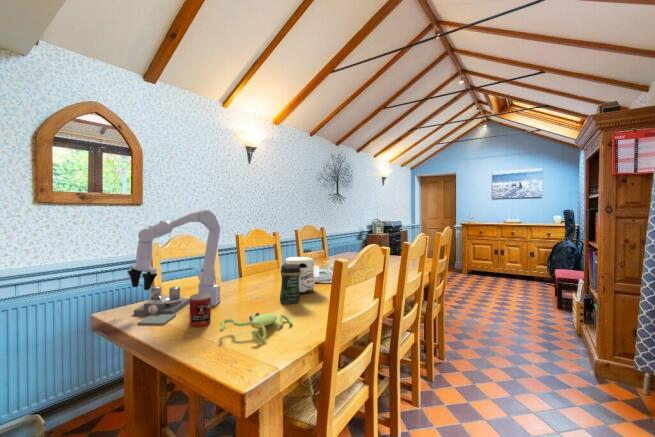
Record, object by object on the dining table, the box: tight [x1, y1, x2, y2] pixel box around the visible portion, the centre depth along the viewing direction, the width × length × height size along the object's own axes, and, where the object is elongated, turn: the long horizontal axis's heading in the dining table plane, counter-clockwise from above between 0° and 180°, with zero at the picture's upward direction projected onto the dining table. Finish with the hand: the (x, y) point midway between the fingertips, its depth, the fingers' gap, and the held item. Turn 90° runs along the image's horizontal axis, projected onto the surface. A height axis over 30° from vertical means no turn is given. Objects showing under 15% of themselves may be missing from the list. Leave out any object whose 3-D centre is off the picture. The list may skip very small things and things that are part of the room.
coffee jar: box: [279, 263, 301, 305], centre depth 153 cm, size 10×8×19 cm
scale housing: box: [133, 297, 190, 316], centre depth 140 cm, size 16×18×5 cm
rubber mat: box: [137, 313, 177, 326], centre depth 125 cm, size 10×10×1 cm
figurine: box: [219, 312, 293, 345], centre depth 117 cm, size 18×27×6 cm
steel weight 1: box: [149, 285, 162, 300], centre depth 141 cm, size 4×4×5 cm
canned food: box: [189, 293, 212, 328], centre depth 122 cm, size 8×8×11 cm
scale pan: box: [147, 294, 183, 304], centre depth 141 cm, size 14×14×1 cm
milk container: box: [284, 256, 316, 294], centre depth 173 cm, size 17×17×18 cm
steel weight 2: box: [168, 286, 181, 300], centre depth 141 cm, size 4×4×5 cm
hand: (140, 288), depth 134 cm, fingers open, 7 cm apart
